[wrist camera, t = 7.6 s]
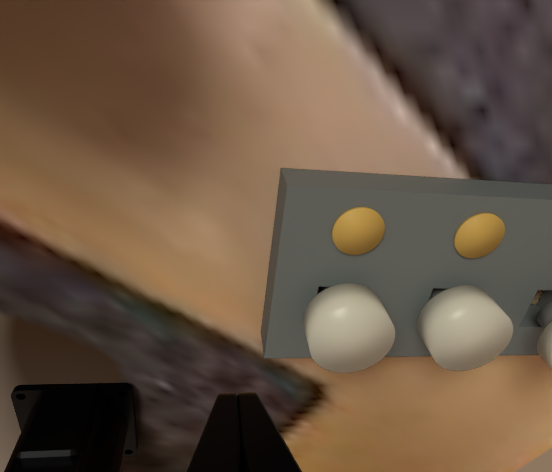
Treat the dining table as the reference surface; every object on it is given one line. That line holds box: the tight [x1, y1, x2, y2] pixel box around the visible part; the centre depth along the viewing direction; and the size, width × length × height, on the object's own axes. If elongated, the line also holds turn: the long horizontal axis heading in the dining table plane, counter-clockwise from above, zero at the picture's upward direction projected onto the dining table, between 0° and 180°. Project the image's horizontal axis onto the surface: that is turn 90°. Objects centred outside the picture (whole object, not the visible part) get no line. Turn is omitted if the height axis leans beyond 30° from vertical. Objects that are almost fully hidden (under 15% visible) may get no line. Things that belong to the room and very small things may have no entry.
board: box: [261, 168, 552, 358], centre depth 23 cm, size 10×19×2 cm, turn 84°
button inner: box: [303, 283, 395, 373], centre depth 21 cm, size 4×4×4 cm
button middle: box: [417, 285, 513, 371], centre depth 22 cm, size 4×4×4 cm
